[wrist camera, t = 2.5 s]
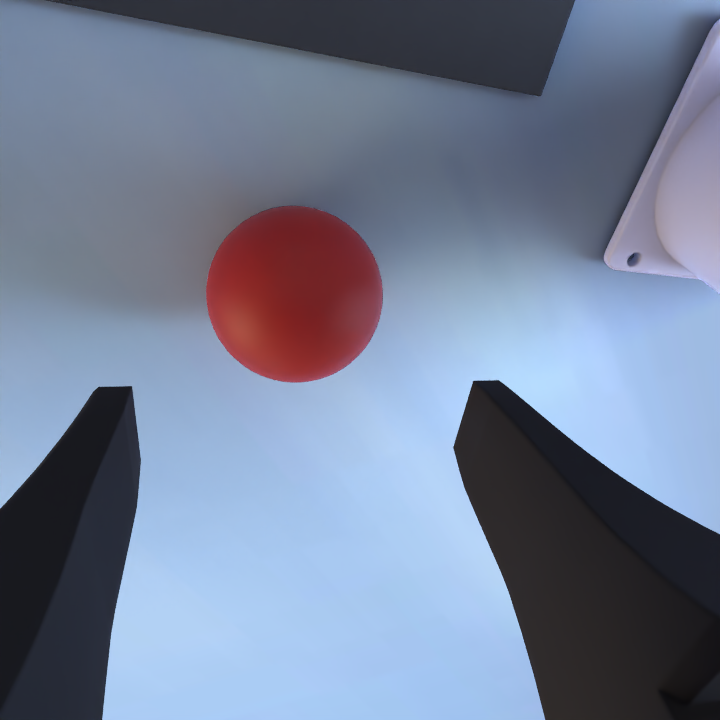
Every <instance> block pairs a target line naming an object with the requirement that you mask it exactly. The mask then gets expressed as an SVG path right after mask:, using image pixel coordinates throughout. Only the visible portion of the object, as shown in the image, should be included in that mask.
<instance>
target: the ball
mask: <svg viewBox="0 0 720 720" xmlns="http://www.w3.org/2000/svg"><path fill="white" fill-rule="evenodd" d="M206 300H207V307H208V313H209V317H210V320H211V323H212V326H213V328H214V330H215V332H216V334H217V336H218V338H219V340H220V341H221V343H222V344H223V345H224V347H225V348H226V350H227V351H228V352H229V353H230V354H231V355H232V356H233V357H234V358H235V359H236V360H237V361H239V362H240V363H241V364H242V365H244V366H245V367H246V368H248V369H250V370H251V371H253V372H255V373H257V374H259V375H261V376H264V377H267V378H270V379H273V380H278V381H283V382H308V381H313V380H318V379H321V378H324V377H327V376H330V375H332V374H334V373H336V372H338V371H340V370H341V369H343V368H344V367H346V366H347V365H348V364H350V363H351V362H352V361H353V360H354V359H355V358H356V357H357V356H359V355H360V353H361V352H362V351H363V350H364V349H365V347H366V346H367V344H368V343H369V341H370V340H371V338H372V336H373V334H374V332H375V330H376V328H377V325H378V322H379V319H380V314H381V309H382V301H383V289H382V280H381V276H380V272H379V268H378V265H377V262H376V260H375V258H374V256H373V254H372V252H371V250H370V249H369V247H368V246H367V244H366V243H365V241H364V240H363V239H362V238H361V236H360V235H359V234H358V233H357V232H356V231H355V230H354V229H352V228H351V227H350V226H349V225H348V224H347V223H345V222H344V221H342V220H341V219H339V218H338V217H336V216H334V215H332V214H329V213H327V212H324V211H321V210H318V209H315V208H310V207H305V206H282V207H276V208H271V209H268V210H265V211H262V212H260V213H258V214H255V215H253V216H251V217H250V218H248V219H247V220H245V221H243V222H242V223H241V224H240V225H238V226H237V227H236V228H235V229H234V230H233V231H231V233H230V234H229V235H228V236H227V237H226V238H225V239H224V241H223V242H222V244H221V245H220V247H219V248H218V250H217V252H216V254H215V256H214V258H213V260H212V263H211V266H210V269H209V273H208V279H207V286H206Z"/></svg>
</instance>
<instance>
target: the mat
mask: <svg viewBox="0 0 720 720" xmlns="http://www.w3.org/2000/svg"><path fill="white" fill-rule="evenodd" d="M46 1H52V2H57V3H62V4H67V5H72V6H77V7H82V8H88V9H93V10H98V11H103V12H108V13H113V14H118V15H124V16H129V17H134V18H139V19H144V20H149V21H154V22H160V23H165V24H170V25H175V26H180V27H185V28H190V29H196V30H201V31H206V32H211V33H216V34H221V35H226V36H232V37H237V38H242V39H247V40H252V41H257V42H263V43H268V44H273V45H278V46H283V47H288V48H293V49H299V50H304V51H309V52H314V53H319V54H324V55H329V56H335V57H340V58H345V59H350V60H355V61H360V62H365V63H371V64H376V65H381V66H386V67H391V68H396V69H401V70H407V71H412V72H417V73H422V74H427V75H432V76H437V77H443V78H448V79H453V80H458V81H463V82H468V83H473V84H479V85H484V86H489V87H494V88H499V89H504V90H509V91H515V92H520V93H525V94H530V95H535V96H541V95H542V92H543V89H544V86H545V84H546V81H547V78H548V75H549V72H550V69H551V66H552V64H553V61H554V58H555V55H556V52H557V49H558V47H559V44H560V41H561V38H562V35H563V32H564V30H565V27H566V24H567V21H568V18H569V15H570V12H571V10H572V7H573V4H574V1H575V0H46Z"/></svg>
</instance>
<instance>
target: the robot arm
mask: <svg viewBox="0 0 720 720" xmlns="http://www.w3.org/2000/svg"><path fill="white" fill-rule="evenodd" d="M633 253H635V255H634V256H633V258H632V259H630V260H628V258H629V256H630V255H632V254H633ZM627 260H628V261H627ZM604 262H605V263H606V264H607V265H608V266H609V267H610V268H611V269H614V270H619V271H628V272H637V273H646V274H655V275H664V276H673V277H683V278H692V279H700V280H702V281H703V282H704V283H706V284H707V285H708V286H710V287H711V288H712V289H713V290H715V291H716V292H717V293H719V294H720V19H719V20H718V21H717V22H716V23H715V24H714V25H713V27H712V29H711V30H710V32H709V34H708V36H707V38H706V40H705V42H704V45H703V47H702V49H701V51H700V53H699V55H698V57H697V59H696V61H695V63H694V66H693V68H692V70H691V72H690V74H689V76H688V78H687V80H686V82H685V85H684V87H683V89H682V91H681V93H680V95H679V97H678V99H677V101H676V103H675V106H674V108H673V110H672V112H671V114H670V116H669V118H668V120H667V122H666V125H665V127H664V129H663V131H662V133H661V135H660V137H659V139H658V141H657V144H656V146H655V148H654V150H653V152H652V154H651V156H650V158H649V160H648V162H647V165H646V167H645V169H644V171H643V173H642V175H641V177H640V179H639V181H638V184H637V186H636V188H635V190H634V192H633V194H632V196H631V198H630V200H629V203H628V205H627V207H626V209H625V211H624V213H623V215H622V217H621V219H620V221H619V224H618V226H617V228H616V230H615V232H614V234H613V236H612V238H611V240H610V243H609V245H608V247H607V249H606V251H605V254H604ZM453 448H454V451H455V455H456V459H457V463H458V467H459V471H460V474H461V477H462V481H463V484H464V487H465V490H466V492H467V495H468V497H469V499H470V502H471V504H472V507H473V509H474V511H475V514H476V516H477V518H478V521H479V523H480V525H481V527H482V530H483V532H484V534H485V537H486V539H487V541H488V543H489V546H490V548H491V550H492V553H493V555H494V557H495V559H496V562H497V564H498V566H499V569H500V571H501V573H502V576H503V578H504V581H505V583H506V586H507V589H508V591H509V594H510V597H511V600H512V604H513V607H514V610H515V613H516V616H517V619H518V622H519V626H520V629H521V632H522V635H523V639H524V642H525V646H526V649H527V653H528V656H529V660H530V663H531V667H532V670H533V673H534V677H535V681H536V685H537V689H538V693H539V696H540V700H541V704H542V708H543V712H544V716H545V720H720V534H718V533H716V532H714V531H712V530H710V529H708V528H706V527H704V526H702V525H700V524H699V523H697V522H695V521H693V520H691V519H690V518H688V517H686V516H684V515H682V514H680V513H679V512H677V511H675V510H673V509H671V508H670V507H668V506H666V505H665V504H663V503H661V502H659V501H658V500H656V499H655V498H653V497H651V496H650V495H648V494H647V493H645V492H644V491H642V490H640V489H639V488H637V487H636V486H634V485H633V484H631V483H629V482H628V481H626V480H625V479H623V478H622V477H621V476H619V475H618V474H616V473H615V472H613V471H612V470H610V469H609V468H608V467H606V466H605V465H604V464H602V463H601V462H600V461H598V460H597V459H596V458H594V457H593V456H591V455H590V454H589V453H587V452H586V451H585V450H584V449H582V448H581V447H580V446H578V445H577V444H576V443H575V442H573V441H572V440H571V439H570V438H568V437H567V436H566V435H565V434H563V433H562V432H561V431H560V430H558V429H557V428H556V427H555V426H554V425H552V424H551V423H550V422H549V421H548V420H546V419H545V418H544V417H543V416H542V415H540V414H539V413H538V412H537V411H536V410H535V409H533V408H532V407H531V406H530V405H529V404H527V403H526V402H525V401H524V400H523V399H521V398H520V397H519V396H518V395H517V394H515V393H514V392H513V391H512V390H511V389H509V388H508V387H507V386H505V385H504V384H503V383H501V382H500V381H499V380H494V381H473V384H472V387H471V391H470V394H469V397H468V400H467V404H466V407H465V410H464V414H463V417H462V420H461V424H460V427H459V430H458V434H457V437H456V440H455V444H454V447H453ZM140 464H141V458H140V450H139V441H138V433H137V425H136V416H135V408H134V399H133V391H132V386H124V387H98V388H97V389H96V390H95V391H93V393H92V394H91V396H90V398H89V399H88V401H87V402H86V404H85V405H84V407H83V408H82V410H81V411H80V412H79V414H78V415H77V417H76V418H75V420H74V421H73V422H72V424H71V425H70V426H69V428H68V429H67V431H66V432H65V433H64V435H63V436H62V437H61V439H60V440H59V441H58V442H57V444H56V445H55V446H54V447H53V449H52V450H51V451H50V452H49V454H48V455H47V456H46V457H45V459H44V460H43V461H42V463H41V464H40V465H39V466H38V467H37V469H36V470H35V471H34V472H33V473H32V474H31V475H30V477H29V478H28V479H27V480H26V481H25V482H24V483H23V484H22V486H21V487H20V488H19V489H18V490H17V491H16V492H15V493H14V495H13V496H12V497H11V498H10V499H9V500H8V501H7V502H6V503H5V504H4V505H3V506H2V508H1V509H0V720H102V715H103V705H104V695H105V684H106V675H107V666H108V657H109V648H110V639H111V631H112V625H113V619H114V613H115V608H116V603H117V598H118V594H119V589H120V584H121V580H122V575H123V570H124V565H125V561H126V556H127V551H128V547H129V542H130V537H131V532H132V528H133V523H134V518H135V513H136V508H137V499H138V489H139V477H140Z"/></svg>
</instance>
